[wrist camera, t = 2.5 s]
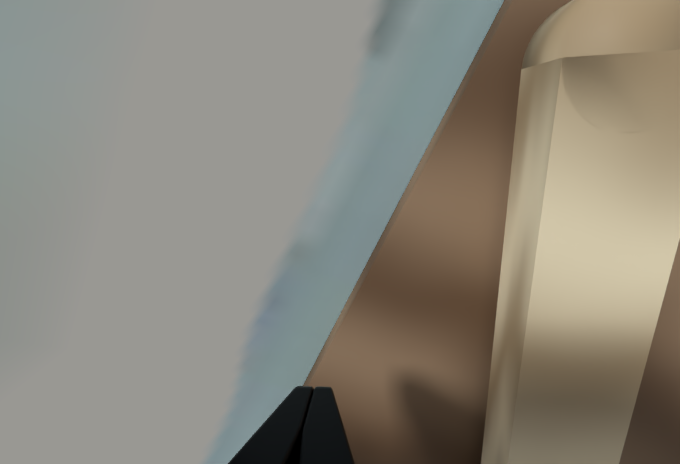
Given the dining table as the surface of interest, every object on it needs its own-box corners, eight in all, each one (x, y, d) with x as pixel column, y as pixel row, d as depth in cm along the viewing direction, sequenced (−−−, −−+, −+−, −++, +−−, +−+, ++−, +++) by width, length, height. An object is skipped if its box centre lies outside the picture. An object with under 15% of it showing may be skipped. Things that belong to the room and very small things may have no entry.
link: (562, 554, 14) (634, 721, 10) (459, 547, 14) (491, 706, 11) (690, -14, 8) (993, -134, 4) (506, 1, 8) (623, -96, 4)
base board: (616, 614, 17) (630, 643, 16) (258, 470, 16) (251, 492, 15) (1141, 216, 10) (1222, 226, 9) (554, -96, 9) (576, -122, 8)
